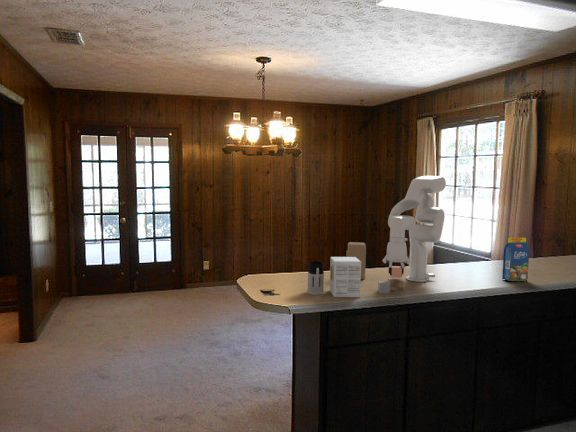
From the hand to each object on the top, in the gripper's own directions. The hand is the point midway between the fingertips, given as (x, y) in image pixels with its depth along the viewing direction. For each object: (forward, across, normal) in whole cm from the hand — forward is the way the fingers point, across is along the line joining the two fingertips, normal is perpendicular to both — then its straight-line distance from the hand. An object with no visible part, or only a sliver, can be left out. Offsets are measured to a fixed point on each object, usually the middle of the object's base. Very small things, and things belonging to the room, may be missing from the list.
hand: (395, 274), depth 234 cm
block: (+8, +19, -24) cm, 32 cm away
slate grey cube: (+7, +7, +8) cm, 13 cm away
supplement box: (+8, +27, +15) cm, 32 cm away
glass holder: (+8, +41, +17) cm, 45 cm away
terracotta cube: (+1, 0, 0) cm, 1 cm away
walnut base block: (+8, 0, 0) cm, 8 cm away
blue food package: (+8, -72, -30) cm, 78 cm away
